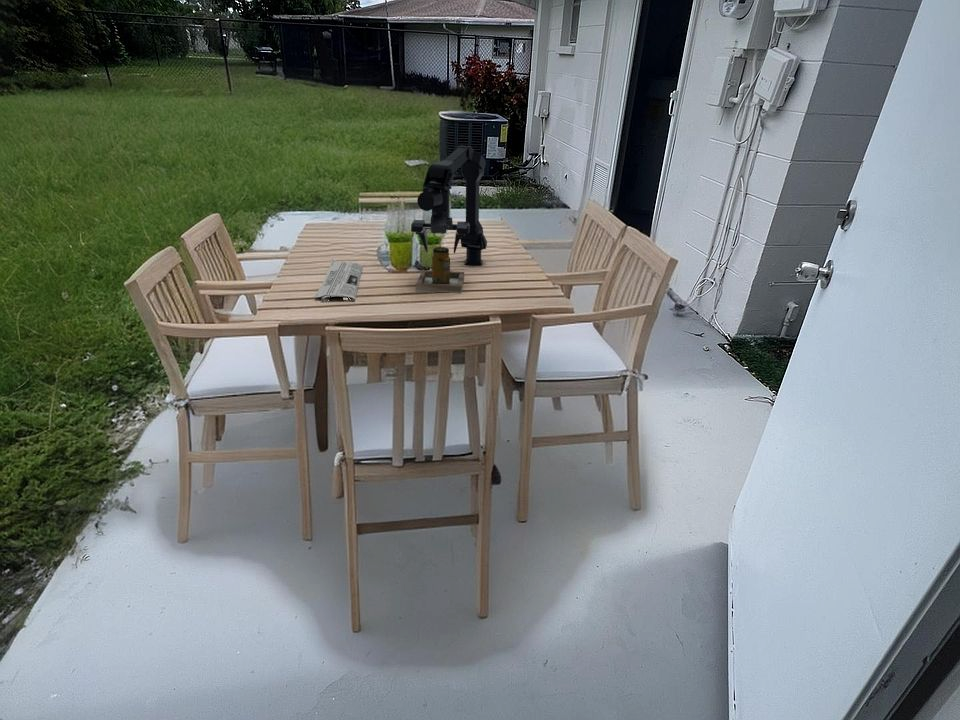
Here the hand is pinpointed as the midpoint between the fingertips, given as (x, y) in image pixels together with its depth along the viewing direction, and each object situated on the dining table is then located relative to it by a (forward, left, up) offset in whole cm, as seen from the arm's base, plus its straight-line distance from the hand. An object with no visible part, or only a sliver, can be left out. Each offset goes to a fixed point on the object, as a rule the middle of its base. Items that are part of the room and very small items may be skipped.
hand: (440, 252), depth 189 cm
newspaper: (+2, -34, -12) cm, 36 cm away
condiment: (0, 0, -11) cm, 11 cm away
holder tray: (0, 0, -11) cm, 11 cm away
